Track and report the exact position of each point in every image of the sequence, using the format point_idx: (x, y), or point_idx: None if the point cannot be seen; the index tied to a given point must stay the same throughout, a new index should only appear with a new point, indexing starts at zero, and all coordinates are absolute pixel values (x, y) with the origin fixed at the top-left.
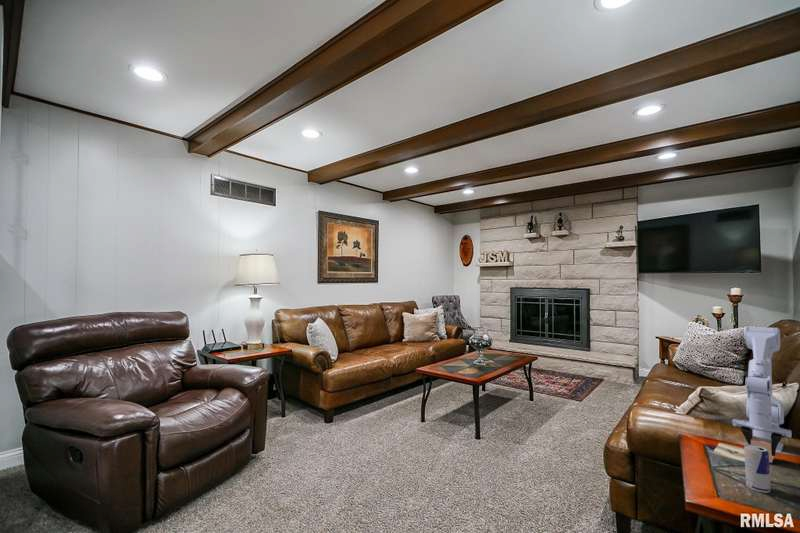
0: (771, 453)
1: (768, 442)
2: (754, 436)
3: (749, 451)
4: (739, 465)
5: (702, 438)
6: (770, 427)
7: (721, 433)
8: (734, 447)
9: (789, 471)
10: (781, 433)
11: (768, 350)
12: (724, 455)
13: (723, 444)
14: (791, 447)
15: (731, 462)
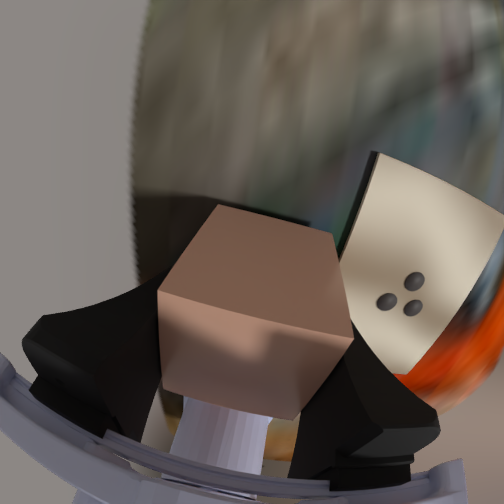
0: (194, 239)
1: (183, 339)
2: (284, 415)
3: None
4: (420, 86)
5: (444, 380)
6: (76, 497)
7: None
8: None
9: (145, 157)
10: (34, 407)
11: None
12: (466, 214)
13: (401, 364)
14: (166, 408)
15: (454, 121)
